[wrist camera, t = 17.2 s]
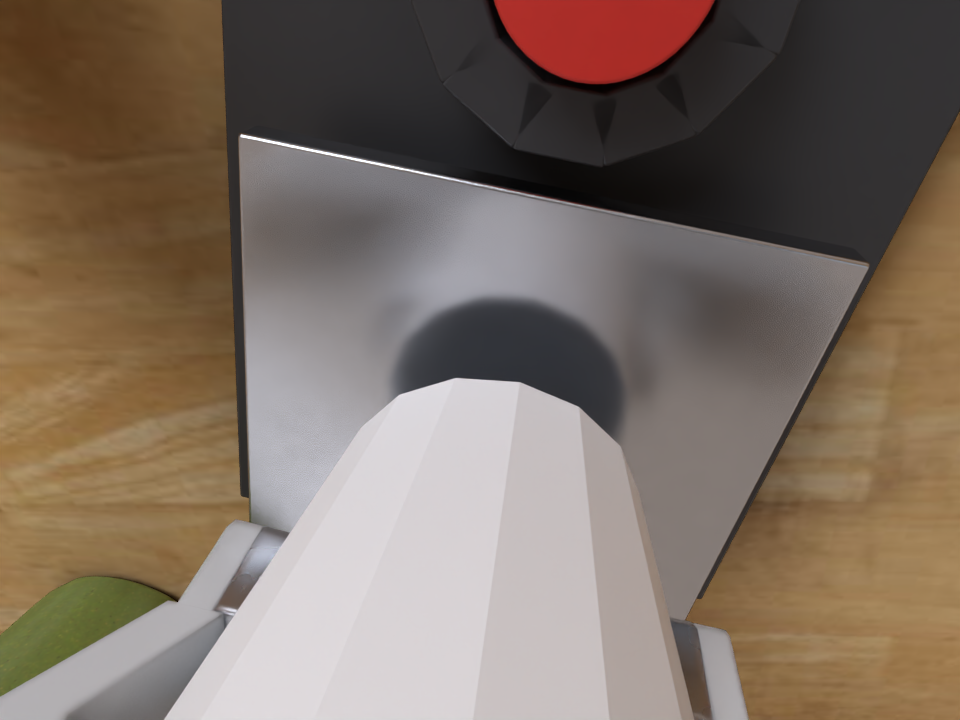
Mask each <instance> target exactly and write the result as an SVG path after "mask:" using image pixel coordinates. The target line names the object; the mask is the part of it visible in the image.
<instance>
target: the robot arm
mask: <svg viewBox="0 0 960 720" xmlns="http://www.w3.org/2000/svg"><path fill="white" fill-rule="evenodd" d="M289 534H290V532H286V531H282V530H278V529H274V528H270V527H266V526H261V525H257V524H253V523H249V522H245V521H240V520H236V519H235V520H234V521H233V522H232V523H231V524H229V525H228V526H227V527H226V529H225V530H224V532H223V533H222V535H221V536H220V538H219V540H218V541H217V543H216V544H215V546H214V547H213V549H212V550H211V552H210V553H209V555H208V556H207V558H206V559H205V561H204V563H203V564H202V566H201V567H200V569H199V570H198V572H197V573H196V575H195V576H194V578H193V579H192V581H191V582H190V584H189V586H188V587H187V589H186V590H185V592H184V593H183V595H182V596H181V598H180V599H179V601H178V602H174V601H169V600H168V601H166V602H165V603H163V604H161V605H159V606H158V607H156V608H154V609H152V610H151V611H149V612H147V613H145V614H144V615H142V616H140V617H138V618H137V619H135V620H133V621H131V622H130V623H128V624H126V625H124V626H123V627H121V628H119V629H117V630H116V631H114V632H112V633H111V634H109V635H107V636H105V637H104V638H102V639H100V640H98V641H97V642H95V643H93V644H91V645H90V646H88V647H86V648H84V649H83V650H81V651H79V652H77V653H76V654H74V655H72V656H70V657H69V658H67V659H65V660H63V661H62V662H60V663H58V664H56V665H55V666H53V667H51V668H50V669H48V670H46V671H44V672H43V673H41V674H39V675H37V676H36V677H34V678H32V679H30V680H29V681H27V682H25V683H23V684H22V685H20V686H18V687H16V688H15V689H13V690H11V691H9V692H8V693H6V694H4V695H2V696H1V697H0V720H164V719H165V717H166V716H167V714H168V713H169V711H170V710H171V708H172V707H173V705H174V704H175V703H176V701H177V700H178V698H179V697H180V695H181V694H182V692H183V691H184V689H185V688H186V686H187V685H188V683H189V682H190V680H191V679H192V677H193V676H194V674H195V673H196V671H197V670H198V668H199V667H200V665H201V664H202V663H203V661H204V660H205V658H206V657H207V655H208V654H209V652H210V651H211V649H212V648H213V646H214V645H215V643H216V642H217V640H218V639H219V637H220V636H221V634H222V633H223V631H224V630H225V628H226V627H227V625H228V624H229V622H230V621H231V620H232V618H233V617H234V615H235V614H236V612H237V611H238V609H239V608H240V606H241V605H242V603H243V602H244V600H245V599H246V597H247V596H248V594H249V593H250V591H251V590H252V588H253V587H254V585H255V584H256V582H257V581H258V580H259V578H260V577H261V575H262V574H263V572H264V571H265V569H266V568H267V566H268V565H269V563H270V562H271V560H272V559H273V557H274V556H275V554H276V553H277V551H278V550H279V548H280V547H281V545H282V544H283V542H284V541H285V540H286V538H287V537H288V535H289ZM669 618H670V622H671V626H672V630H673V634H674V638H675V643H676V647H677V651H678V655H679V659H680V663H681V667H682V671H683V675H684V679H685V683H686V687H687V691H688V696H689V700H690V704H691V708H692V712H693V716H694V720H749V717H748V712H747V708H746V704H745V699H744V695H743V691H742V686H741V682H740V678H739V673H738V669H737V665H736V660H735V656H734V652H733V647H732V643H731V638H730V636H729V634H728V633H727V632H726V630H722V629H718V628H714V627H709V626H705V625H700V624H696V623H691V622H690V621H685V620H680V619H675V618H671V617H669Z"/></svg>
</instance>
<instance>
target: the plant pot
mask: <svg viewBox="0 0 960 720" xmlns="http://www.w3.org/2000/svg"><path fill="white" fill-rule="evenodd" d="M168 600H169V601H174V602H176V601H175V600H173V599H172V598H170V597H169V596H167V595H165V594H163V593H161V592H159V591H157V590H155V589H153V588H150V587H148V586H145V585H142V584H139V583H135V582H132V581H129V580H124V579H118V578H113V577H101V576H89V577H82V578H77V579H75V580H73V581H71V582H69V583H67V584H65V585H63V586H60V587H58V588H56V589H55V590H53V591H51V592H50V593H48V594H47V595H46V596H45V597H44V598H42V599H41V600H40V601H39V602H38V603H36V604H35V605H34V606H33V607H32V608H31V609H29V610H28V611H27V612H26V613H25V614H24V615H23V616H21V617H20V618H19V619H18V620H17V621H16V622H15V623H14V624H12V625H11V626H10V627H9V628H8V629H7V630H5V631H4V632H3V633H2V634H1V635H0V697H1V696H2V695H4V694H6V693H8V692H9V691H11V690H13V689H15V688H16V687H18V686H20V685H22V684H23V683H25V682H27V681H29V680H30V679H32V678H34V677H36V676H37V675H39V674H41V673H43V672H44V671H46V670H48V669H50V668H51V667H53V666H55V665H56V664H58V663H60V662H62V661H63V660H65V659H67V658H69V657H70V656H72V655H74V654H76V653H77V652H79V651H81V650H83V649H84V648H86V647H88V646H90V645H91V644H93V643H95V642H97V641H98V640H100V639H102V638H104V637H105V636H107V635H109V634H111V633H112V632H114V631H116V630H117V629H119V628H121V627H123V626H124V625H126V624H128V623H130V622H131V621H133V620H135V619H137V618H138V617H140V616H142V615H144V614H145V613H147V612H149V611H151V610H152V609H154V608H156V607H158V606H159V605H161V604H163V603H165V602H166V601H168Z"/></svg>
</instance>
